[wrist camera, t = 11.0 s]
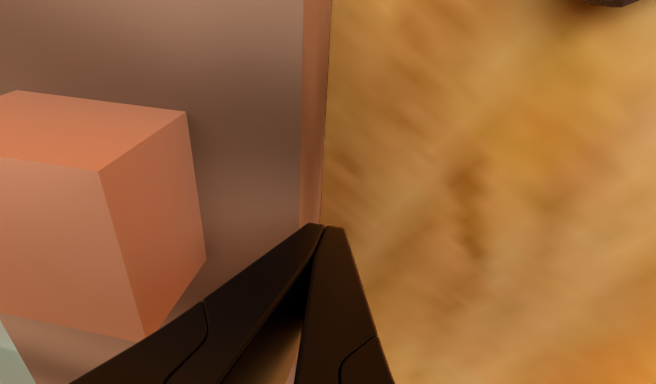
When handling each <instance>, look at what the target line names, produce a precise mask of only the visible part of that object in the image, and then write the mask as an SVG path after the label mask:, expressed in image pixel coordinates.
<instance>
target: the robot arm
mask: <svg viewBox="0 0 656 384" xmlns="http://www.w3.org/2000/svg"><path fill="white" fill-rule="evenodd" d="M202 301H203V302H202ZM202 301H199V302H198V303H196V304H195V305H193V306H192V307H191V308H189V309H188V310H187V311H185V312H184V313H182V314H181V315H179V316H178V317H176V318H175V319H174V320H172V321H171V322H169V323H168V324H166V325H165V326H163V327H162V328H160V329H159V330H157V331H155V332H154V333H152V334H151V335H149V336H147V337H146V338H144V339H142V340H141V341H139V342H138V343H136V344H134V345H133V346H131V347H129V348H128V349H126V350H124V351H123V352H121V353H119V354H118V355H116V356H114V357H113V358H111V359H109V360H107V361H106V362H104V363H102V364H101V365H99V366H97V367H96V368H94V369H92V370H91V371H89V372H87V373H86V374H84V375H82V376H80V377H79V378H77V379H75V380H74V381H72V382H70V383H69V384H286V381H287V379H288V376H289V373H290V371H291V368H292V365H293V363H294V360H295V357H296V355H297V352H298V349H299V352H298V358H297V365H296V371H295V378H294V384H395V382H394V379H393V377H392V374H391V372H390V369H389V366H388V363H387V360H386V358H385V355H384V352H383V349H382V346H381V342H380V339H379V337H378V334H377V330H376V327H375V324H374V321H373V318H372V314H371V311H370V308H369V305H368V302H367V299H366V295H365V292H364V289H363V286H362V283H361V280H360V276H359V273H358V270H357V267H356V264H355V260H354V257H353V254H352V251H351V248H350V245H349V241H348V238H347V235H346V232H345V230H344V228H341V227H334V226H327V227H325V225H322V224H316V223H307V224H305V225H304V226H303V227H301V228H300V229H299V230H297V231H296V232H294V233H293V234H292V235H290V236H289V237H288V238H286V239H285V240H283V241H282V242H281V243H279V244H278V245H276V246H275V247H274V248H272V249H271V250H270V251H268V252H267V253H265V254H264V255H263V256H261V257H260V258H259V259H257V260H256V261H254V262H253V263H252V264H250V265H249V266H248V267H246V268H245V269H243V270H242V271H241V272H239V273H238V274H236V275H235V276H234V277H232V278H231V279H230V280H228V281H227V282H225V283H224V284H223V285H221V286H220V287H219V288H217V289H216V290H214V291H213V292H212V293H210V294H209V295H207V296H206V297H205V298H203V300H202Z"/></svg>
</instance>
